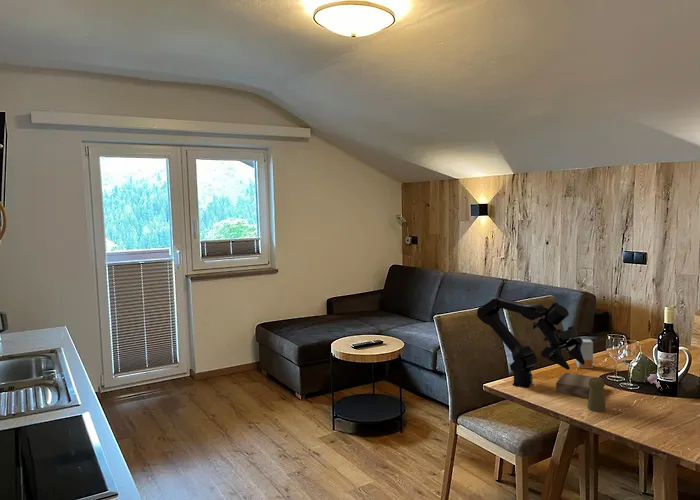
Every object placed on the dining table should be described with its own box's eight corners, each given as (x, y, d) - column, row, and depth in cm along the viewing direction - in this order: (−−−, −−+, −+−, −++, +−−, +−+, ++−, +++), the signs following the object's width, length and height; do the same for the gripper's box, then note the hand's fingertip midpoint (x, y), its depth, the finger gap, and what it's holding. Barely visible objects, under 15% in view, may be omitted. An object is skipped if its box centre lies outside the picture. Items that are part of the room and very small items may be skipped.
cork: (608, 412, 181) (608, 382, 180) (589, 411, 182) (589, 381, 181) (603, 405, 187) (603, 376, 186) (585, 405, 188) (585, 375, 187)
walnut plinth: (556, 392, 201) (556, 382, 201) (564, 381, 213) (564, 372, 212) (595, 399, 193) (595, 388, 193) (602, 387, 204) (602, 377, 204)
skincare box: (578, 368, 229) (578, 341, 228) (576, 365, 233) (576, 339, 232) (593, 368, 228) (593, 341, 227) (590, 365, 232) (590, 339, 231)
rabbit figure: (673, 394, 199) (653, 375, 213) (674, 380, 197) (654, 362, 212) (656, 394, 199) (637, 375, 214) (657, 380, 198) (639, 362, 212)
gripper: (547, 323, 188) (575, 360, 180) (578, 316, 198) (605, 350, 190) (529, 340, 196) (555, 376, 187) (560, 332, 206) (586, 365, 197)
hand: (576, 366), depth 190 cm, fingers open, 9 cm apart
